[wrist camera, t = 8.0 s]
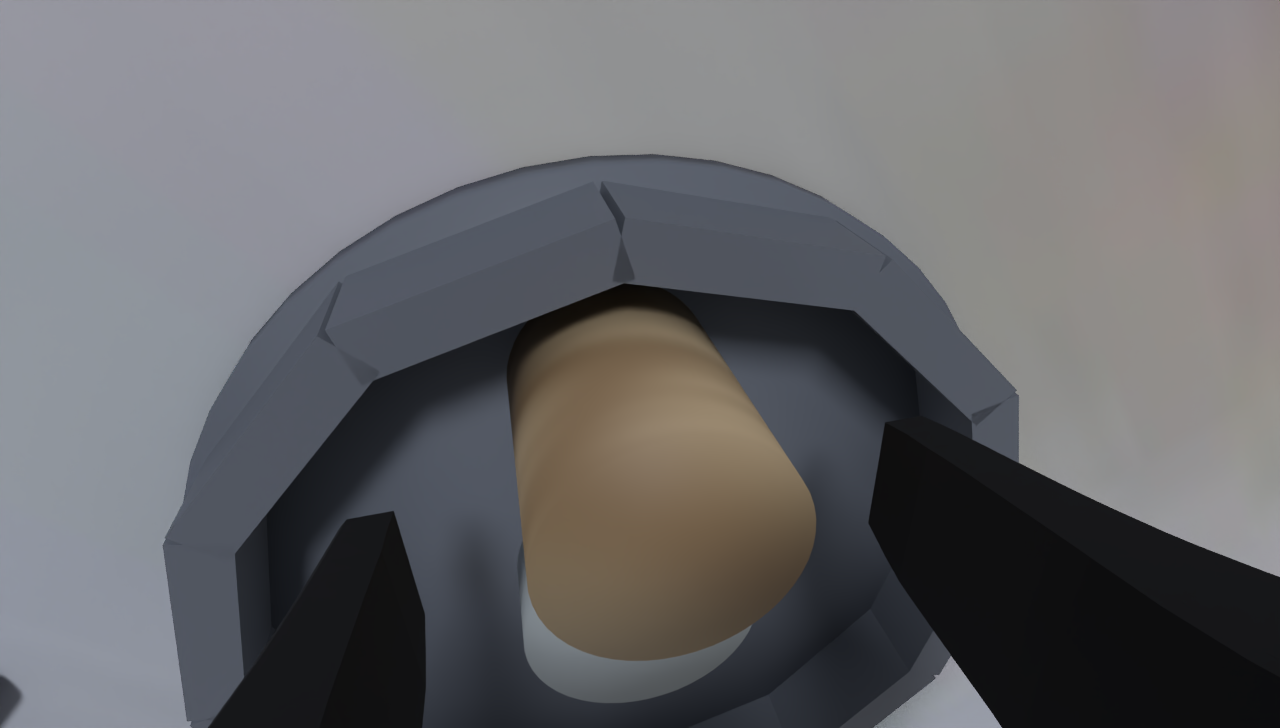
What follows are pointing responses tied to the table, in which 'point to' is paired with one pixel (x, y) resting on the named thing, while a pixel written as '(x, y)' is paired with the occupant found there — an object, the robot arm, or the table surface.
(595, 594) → the bead
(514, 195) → the ring tray
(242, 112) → the table surface
